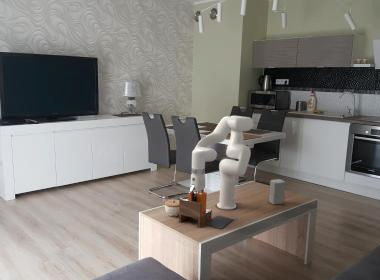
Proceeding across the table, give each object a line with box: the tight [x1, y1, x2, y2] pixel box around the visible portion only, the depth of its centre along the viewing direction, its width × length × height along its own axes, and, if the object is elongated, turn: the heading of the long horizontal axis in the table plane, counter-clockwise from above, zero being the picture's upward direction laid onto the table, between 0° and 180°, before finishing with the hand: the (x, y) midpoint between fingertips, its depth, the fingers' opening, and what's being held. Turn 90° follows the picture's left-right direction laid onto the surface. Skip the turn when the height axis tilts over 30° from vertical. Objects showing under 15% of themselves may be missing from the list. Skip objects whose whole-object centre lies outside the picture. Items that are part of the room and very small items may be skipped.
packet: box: [187, 190, 208, 213], centre depth 212 cm, size 6×9×11 cm, turn 58°
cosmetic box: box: [268, 178, 286, 206], centre depth 245 cm, size 8×7×16 cm
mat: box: [205, 215, 234, 230], centre depth 211 cm, size 16×10×1 cm, turn 148°
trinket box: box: [164, 199, 179, 217], centre depth 220 cm, size 11×11×9 cm
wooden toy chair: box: [178, 197, 213, 228], centre depth 211 cm, size 14×14×14 cm
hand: (197, 200), depth 212 cm, fingers open, 6 cm apart
